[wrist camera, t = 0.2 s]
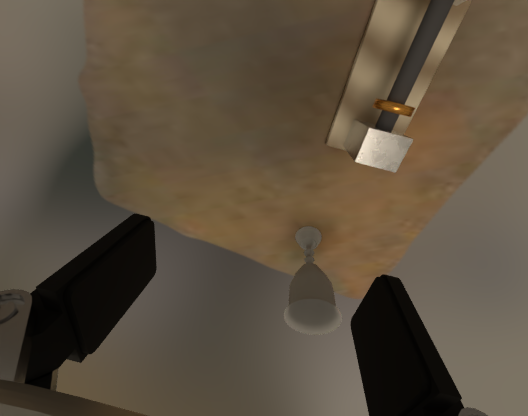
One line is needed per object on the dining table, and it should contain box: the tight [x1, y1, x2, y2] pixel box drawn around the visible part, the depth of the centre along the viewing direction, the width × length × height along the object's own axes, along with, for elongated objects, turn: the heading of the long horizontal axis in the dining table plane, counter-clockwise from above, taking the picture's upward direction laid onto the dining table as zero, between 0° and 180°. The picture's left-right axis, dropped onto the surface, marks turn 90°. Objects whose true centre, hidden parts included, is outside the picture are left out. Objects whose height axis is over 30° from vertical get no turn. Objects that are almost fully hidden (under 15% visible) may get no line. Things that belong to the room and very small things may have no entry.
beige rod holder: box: [325, 0, 472, 150], centre depth 26 cm, size 26×10×9 cm, turn 167°
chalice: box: [284, 226, 342, 335], centre depth 37 cm, size 7×7×18 cm
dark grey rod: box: [375, 0, 455, 132], centre depth 24 cm, size 21×2×2 cm, turn 167°
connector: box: [344, 98, 415, 173], centre depth 29 cm, size 7×5×8 cm
